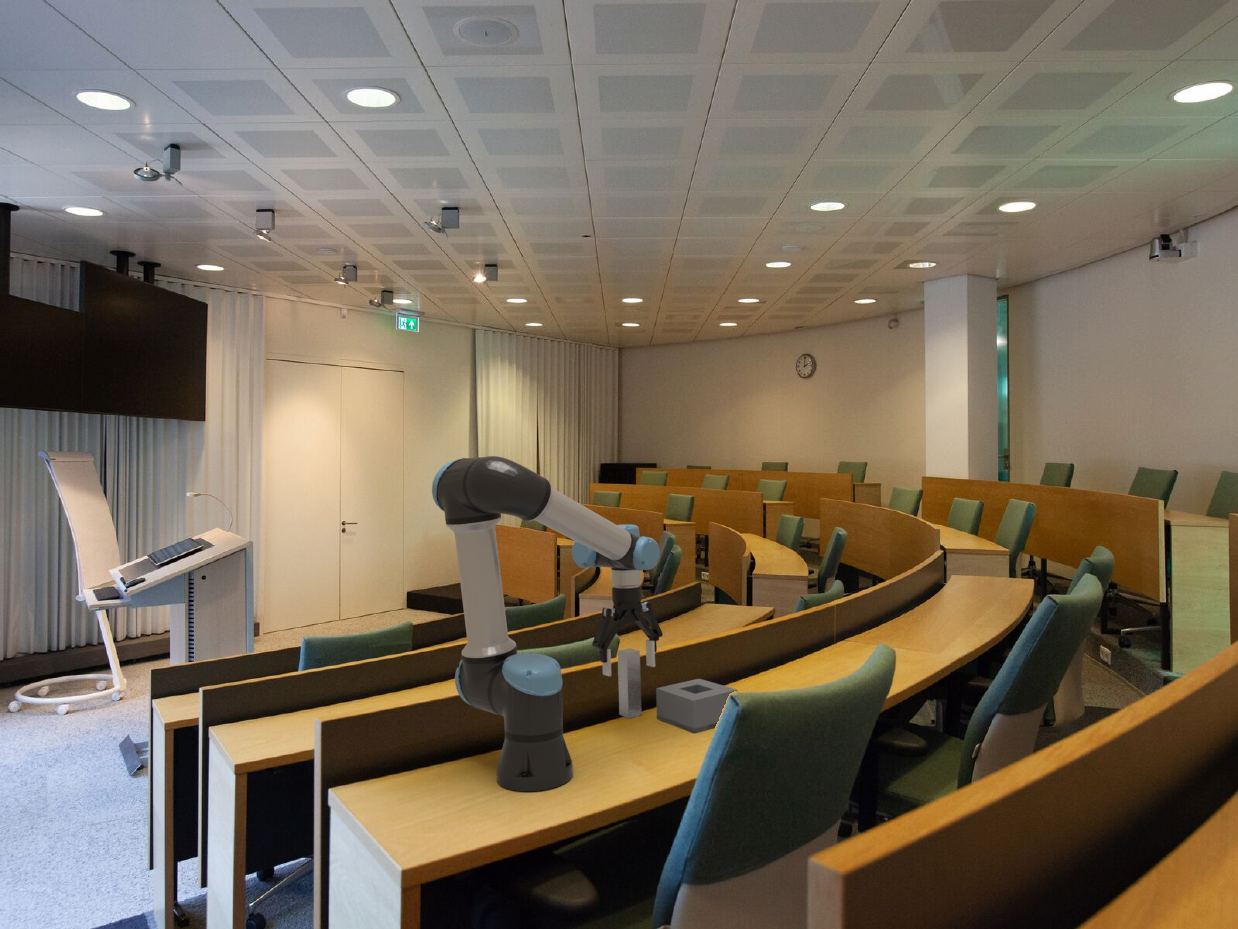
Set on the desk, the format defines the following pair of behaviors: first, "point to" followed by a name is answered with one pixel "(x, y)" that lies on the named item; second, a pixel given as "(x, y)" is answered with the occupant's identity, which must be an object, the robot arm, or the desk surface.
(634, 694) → the grey metal bar
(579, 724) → the desk surface
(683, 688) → the slate well
